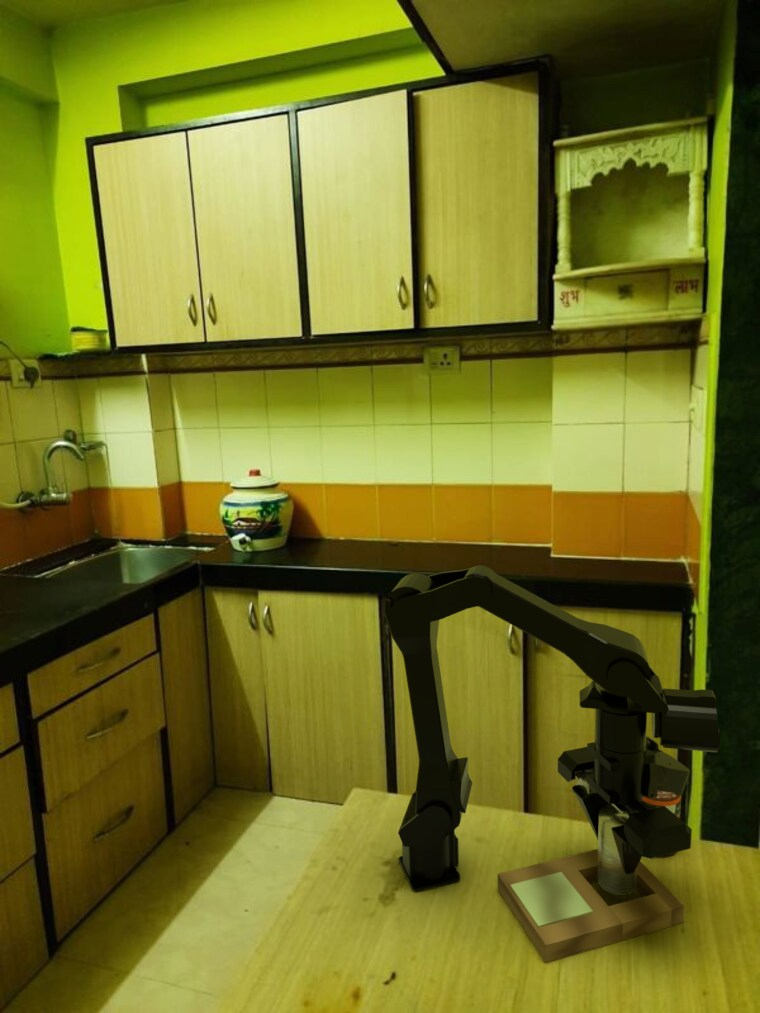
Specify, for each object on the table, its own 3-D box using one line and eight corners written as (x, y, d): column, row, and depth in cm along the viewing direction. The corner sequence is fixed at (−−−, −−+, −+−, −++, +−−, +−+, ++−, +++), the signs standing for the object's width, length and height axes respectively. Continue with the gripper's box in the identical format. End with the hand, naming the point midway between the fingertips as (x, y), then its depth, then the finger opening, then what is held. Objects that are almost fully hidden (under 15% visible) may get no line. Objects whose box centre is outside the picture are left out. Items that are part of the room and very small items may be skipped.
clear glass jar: (611, 899, 84) (613, 830, 82) (590, 874, 88) (591, 808, 86) (644, 890, 85) (646, 822, 83) (621, 866, 89) (623, 801, 88)
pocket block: (545, 962, 78) (545, 943, 77) (497, 889, 89) (497, 872, 89) (683, 922, 83) (684, 904, 82) (621, 857, 94) (622, 841, 94)
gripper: (736, 769, 77) (729, 896, 79) (630, 697, 94) (627, 803, 97) (648, 788, 74) (643, 920, 76) (555, 711, 91) (555, 820, 94)
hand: (617, 859), depth 86 cm, fingers closed on clear glass jar, 4 cm apart
